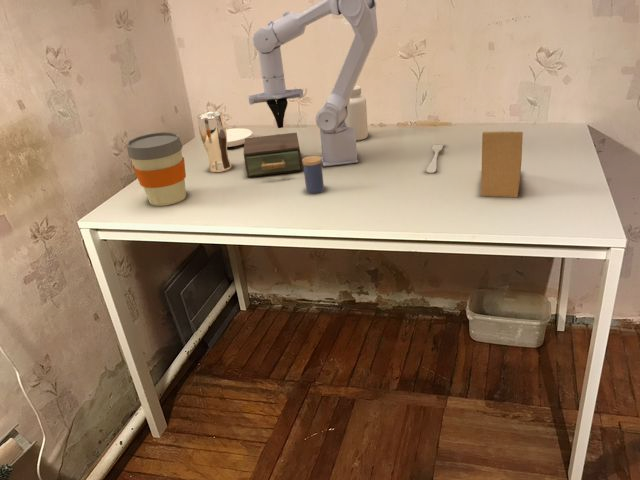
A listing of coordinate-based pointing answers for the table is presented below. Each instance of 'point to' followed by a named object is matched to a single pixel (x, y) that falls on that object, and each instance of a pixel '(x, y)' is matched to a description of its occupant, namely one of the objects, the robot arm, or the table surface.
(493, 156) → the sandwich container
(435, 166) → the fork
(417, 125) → the table surface
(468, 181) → the table surface
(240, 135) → the plastic lid
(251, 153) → the cabinet
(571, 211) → the table surface
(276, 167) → the drawer
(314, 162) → the jar
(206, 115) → the beer glass
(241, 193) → the table surface
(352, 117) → the pill bottle
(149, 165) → the reusable coffee cup
